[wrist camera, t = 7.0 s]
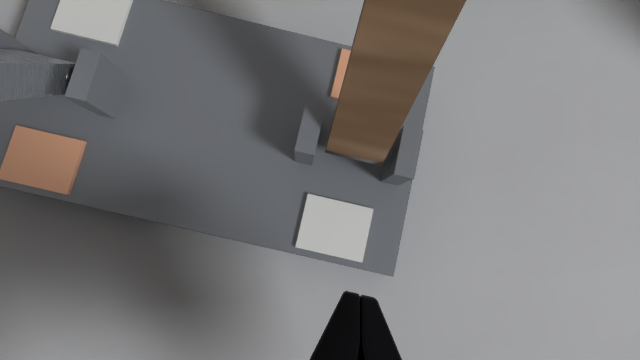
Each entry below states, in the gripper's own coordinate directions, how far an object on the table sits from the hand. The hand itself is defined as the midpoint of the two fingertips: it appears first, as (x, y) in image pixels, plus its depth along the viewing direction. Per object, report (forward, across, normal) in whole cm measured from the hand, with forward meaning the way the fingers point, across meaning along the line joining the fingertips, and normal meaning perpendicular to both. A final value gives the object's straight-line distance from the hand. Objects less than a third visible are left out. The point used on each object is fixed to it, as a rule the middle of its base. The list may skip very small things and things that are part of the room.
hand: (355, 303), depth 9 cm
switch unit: (+10, +7, +2) cm, 12 cm away
